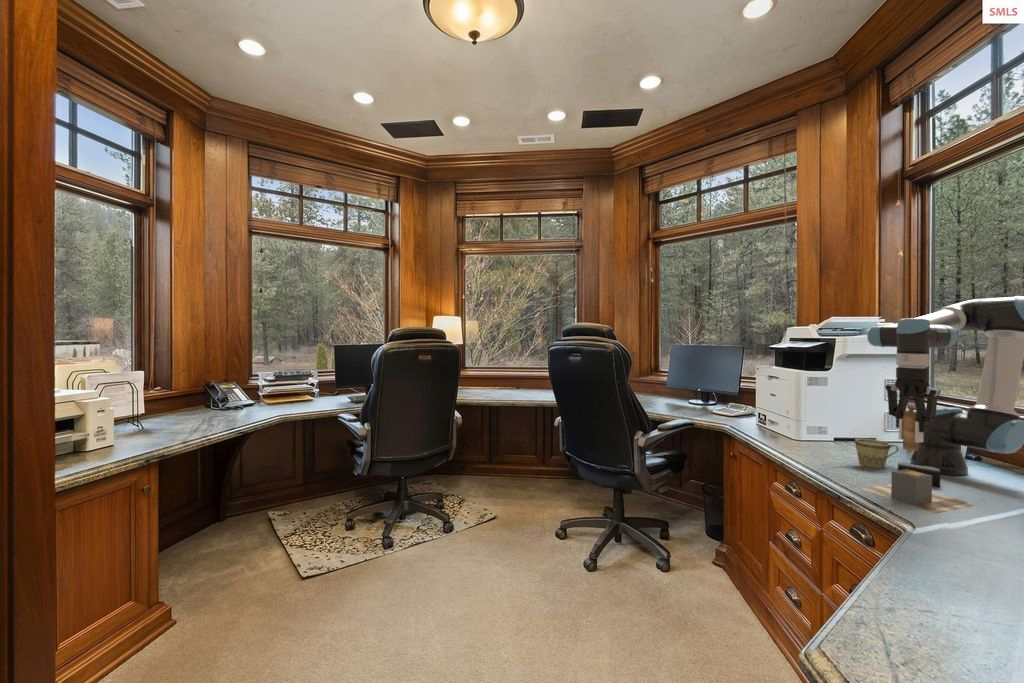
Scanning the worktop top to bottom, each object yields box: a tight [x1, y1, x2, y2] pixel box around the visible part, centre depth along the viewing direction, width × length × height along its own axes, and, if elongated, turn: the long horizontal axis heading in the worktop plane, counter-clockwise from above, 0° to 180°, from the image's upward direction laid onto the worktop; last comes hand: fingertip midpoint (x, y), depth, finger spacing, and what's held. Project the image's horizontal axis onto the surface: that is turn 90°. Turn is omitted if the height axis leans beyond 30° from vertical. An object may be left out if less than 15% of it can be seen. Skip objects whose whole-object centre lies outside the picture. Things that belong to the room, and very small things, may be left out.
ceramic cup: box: [854, 438, 899, 469], centre depth 157 cm, size 13×10×10 cm
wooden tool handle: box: [902, 406, 918, 452], centre depth 134 cm, size 4×4×14 cm
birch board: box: [861, 483, 977, 514], centre depth 127 cm, size 18×19×1 cm
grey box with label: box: [890, 469, 933, 506], centre depth 124 cm, size 7×6×8 cm
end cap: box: [897, 461, 941, 488], centre depth 140 cm, size 10×7×7 cm
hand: (910, 440), depth 134 cm, fingers closed on wooden tool handle, 3 cm apart
